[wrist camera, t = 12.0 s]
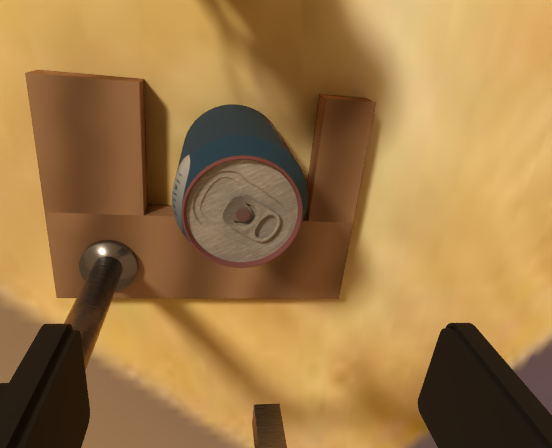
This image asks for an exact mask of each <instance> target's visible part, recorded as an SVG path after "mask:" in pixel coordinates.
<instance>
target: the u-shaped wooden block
mask: <svg viewBox="0 0 552 448" xmlns="http://www.w3.org/2000/svg"><path fill="white" fill-rule="evenodd" d="M25 75H26V82H27V89H28V96H29V103H30V110H31V117H32V125H33V132H34V139H35V146H36V153H37V160H38V167H39V175H40V182H41V189H42V196H43V203H44V210H45V217H46V225H47V232H48V239H49V246H50V253H51V260H52V267H53V275H54V282H55V289H56V296H57V298H77V297H78V295H79V293H80V291H81V289H82V287H83V285H84V283H85V280H84V279H83V277H82V276H81V274H80V271H79V261H80V258H81V256H82V254H83V253H84V251H85V250H86V248H87V247H88V246H90V245H91V244H93V243H95V242H97V241H101V240H114V241H118V242H121V243H123V244H125V245H126V246H128V247H129V248H130V249H131V250H132V251H133V252H134V253H135V255H136V257H137V260H138V271H137V274H136V277H135V279H134V281H133V282H132V283H131V284H130V285H129V286H128V287H126V288H124V289H122V290H119V291H115V293H114V296H113V298H223V299H339V294H340V289H341V284H342V278H343V273H344V268H345V263H346V257H347V252H348V247H349V242H350V237H351V231H352V226H353V221H354V216H355V210H356V205H357V200H358V195H359V190H360V184H361V179H362V174H363V169H364V163H365V158H366V153H367V148H368V143H369V137H370V132H371V127H372V122H373V116H374V111H375V106H376V102H373V101H371V100H369V99H367V98H356V97H345V96H333V95H322V94H319V102H318V109H317V116H316V124H315V131H314V138H313V146H312V153H311V160H310V168H309V175H308V182H307V193H308V200H307V208H306V213H305V216H304V219H303V221H302V223H301V226H300V229H299V232H298V234H297V236H296V237H295V239H294V241H293V242H292V243H291V245H290V246H289V247H288V248H287V249H286V250H285V251H284V252H283V253H282V254H280V255H279V256H278V257H276V258H275V259H273V260H271V261H269V262H267V263H264V264H262V265H258V266H254V267H248V268H234V267H228V266H223V265H220V264H217V263H215V262H213V261H211V260H209V259H207V258H206V257H204V256H203V255H201V254H200V253H199V252H198V251H197V250H196V249H195V248H194V246H193V245H192V244H191V243H190V242H189V241H188V240H187V238H186V237H185V236H184V235H183V233H182V232H181V230H180V228H179V226H178V224H177V222H176V219H175V216H174V213H173V207H172V206H162V205H148V199H147V165H146V132H145V98H144V79H137V78H125V77H114V76H102V75H90V74H79V73H67V72H56V71H44V70H36V71H31V72H27V73H25Z"/></svg>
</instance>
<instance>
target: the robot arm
mask: <svg viewBox="0 0 552 448" xmlns="http://www.w3.org/2000/svg"><path fill="white" fill-rule="evenodd" d="M418 408H419V412H420V414H421V416H422V418H423V420H424V422H425V424H426V426H427V428H428V429H429V431H430V433H431V435H432V437H433V439H434V441H435V443H436V445H437V446H438V448H552V415H551V414H550V413H549V412H548V411H547V409H546V408H545V407H544V406H543V405H542V404H541V402H540V401H539V400H538V399H537V398H536V397H535V396H534V394H533V393H532V392H531V391H530V390H529V389H528V387H527V386H526V385H525V384H524V383H523V382H522V380H521V379H520V378H519V377H518V376H517V375H516V374H515V372H514V371H513V370H512V369H511V368H510V366H509V365H508V364H507V363H506V362H505V361H504V359H503V358H502V357H501V356H500V355H499V354H498V352H497V351H496V350H495V349H494V348H493V347H492V346H491V344H490V343H489V342H488V341H487V340H486V339H485V337H484V336H483V335H482V334H481V333H480V332H479V330H478V329H477V328H476V327H475V326H474V325H473V324H471V323H449V324H448V325H447V326H446V328H444V329H442V330H441V332H440V335H439V338H438V341H437V344H436V347H435V350H434V353H433V356H432V359H431V362H430V365H429V368H428V371H427V374H426V377H425V380H424V383H423V386H422V389H421V392H420V395H419V398H418ZM89 418H90V407H89V399H88V390H87V382H86V374H85V365H84V357H83V349H82V340H81V333H80V331H79V330H73V328H72V325H71V324H44V325H43V326H42V327H41V329H40V330H39V332H38V334H37V336H36V337H35V339H34V341H33V343H32V344H31V346H30V348H29V349H28V351H27V353H26V355H25V356H24V358H23V360H22V362H21V363H20V365H19V367H18V369H17V370H16V372H15V374H14V375H13V377H12V379H11V380H10V382H9V383H0V448H81V446H82V443H83V440H84V437H85V434H86V430H87V427H88V424H89Z"/></svg>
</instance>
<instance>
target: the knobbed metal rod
mask: <svg viewBox="0 0 552 448" xmlns="http://www.w3.org/2000/svg"><path fill="white" fill-rule="evenodd" d="M79 271H80V274H81V276H82V277H83V279H84V280H85V283H84V285H83V287H82V289H81V291H80V293H79V295H78V297H77V299H76V301H75V303H74V305H73V307H72V309H71V311H70V313H69V315H68V317H67V319H66V321H65V323H64V324H71V325H72V328H73V330H79V331H80V333H81V340H82V349H83V357H84V365H85V370H86V368H87V365H88V362H89V360H90V357H91V354H92V352H93V349H94V346H95V344H96V341H97V338H98V336H99V333H100V330H101V328H102V325H103V322H104V320H105V317H106V314H107V312H108V309H109V306H110V304H111V301H112V298H113V296H114V293H115V291H119V290H122V289H124V288H126V287H128V286H129V285H130V284H131V283H132V282H133V281H134V279H135V277H136V274H137V271H138V260H137V257H136V255H135V253H134V252H133V251H132V250H131V249H130V248H129V247H128V246H126V245H125V244H123V243H121V242H118V241H114V240H101V241H97V242H95V243H93V244H91V245H90V246H88V247H87V248H86V250H85V251H84V253H83V254H82V256H81V258H80V261H79ZM252 426H253V436H254V446H255V448H287V445H286V440H285V434H284V428H283V423H282V417H281V411H280V405H279V404H261V405H254V411H253V420H252Z"/></svg>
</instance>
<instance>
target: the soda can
mask: <svg viewBox="0 0 552 448" xmlns="http://www.w3.org/2000/svg"><path fill="white" fill-rule="evenodd" d="M307 200H308V193H307V185H306V181H305V178H304V175H303V173H302V171H301V169H300V167H299V165H298V164H297V162H296V160H295V159H294V157H293V156H292V154H291V152H290V151H289V149H288V148H287V146H286V144H285V143H284V141H283V140H282V138H281V136H280V135H279V133H278V132H277V130H276V128H275V127H274V125H273V124H272V123H271V122H270V121H269V120H268V119H267V118H266V117H265V116H264V115H263V114H261V113H260V112H258V111H256V110H254V109H252V108H250V107H246V106H242V105H223V106H219V107H216V108H213V109H211V110H209V111H207V112H205V113H204V114H202V115H201V116H200V117H199V118H198V119H197V120H196V121H195V122H194V123H193V124H192V126H191V127H190V129H189V131H188V133H187V135H186V138H185V141H184V145H183V149H182V153H181V157H180V161H179V165H178V169H177V173H176V177H175V182H174V186H173V191H172V207H173V213H174V216H175V219H176V222H177V224H178V226H179V228H180V230H181V232H182V233H183V235H184V236H185V237H186V238H187V240H188V241H189V242H190V243H191V244H192V245H193V246H194V248H195V249H196V250H197V251H198V252H199V253H200V254H201V255H203V256H204V257H206V258H207V259H209V260H211V261H213V262H215V263H217V264H220V265H223V266H228V267H234V268H248V267H254V266H258V265H262V264H264V263H267V262H269V261H271V260H273V259H275V258H276V257H278V256H279V255H280V254H282V253H283V252H284V251H285V250H286V249H287V248H288V247H289V246H290V245H291V243H292V242H293V241H294V239H295V237H296V236H297V234H298V232H299V229H300V226H301V223H302V221H303V219H304V216H305V213H306V208H307Z"/></svg>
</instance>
